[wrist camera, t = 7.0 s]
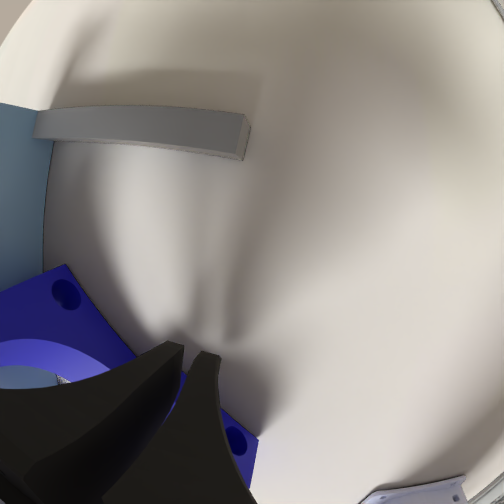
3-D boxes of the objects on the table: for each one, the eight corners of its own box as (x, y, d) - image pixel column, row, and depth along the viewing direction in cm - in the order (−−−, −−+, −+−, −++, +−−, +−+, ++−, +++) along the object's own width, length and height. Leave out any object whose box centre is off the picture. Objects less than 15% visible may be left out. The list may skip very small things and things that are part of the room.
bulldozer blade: (250, 126, 9) (214, 60, 4) (189, 465, 12) (164, 528, 8) (45, 117, 9) (-33, 103, 5) (52, 400, 13) (11, 440, 8)
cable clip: (258, 439, 11) (237, 545, 5) (196, 458, 12) (163, 540, 6) (79, 243, 10) (-38, 287, 4) (43, 297, 11) (-41, 344, 5)
